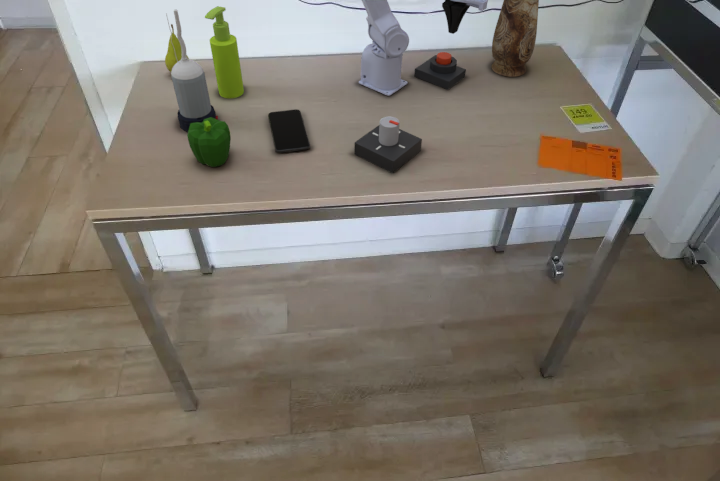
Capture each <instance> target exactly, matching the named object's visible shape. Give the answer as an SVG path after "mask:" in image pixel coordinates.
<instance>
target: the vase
mask: <svg viewBox="0 0 720 481" xmlns="http://www.w3.org/2000/svg"><path fill="white" fill-rule="evenodd" d="M539 1H540V0H503V2H502V5H501V8H500V12H499V15H498V18H497V22H496V24H495V28H494V31H493V37H492V42H491V44H492V45H491V56H492V58H493V60H494V61H493V62H492V64H491V70H492V71H493V72H494V73H496V74H497V75H500V76H504V77H512V78H515V77H520V76H522V75H525V74H526V73H527V66H526V64H527V63H528V62H529V61H530V60H531V58H532V56H533V53H534V50H535V46H536V41H537V34H538V17H539V5H540V4H539V3H540V2H539Z"/></svg>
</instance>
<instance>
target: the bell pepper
mask: <svg viewBox="0 0 720 481" xmlns="http://www.w3.org/2000/svg"><path fill="white" fill-rule="evenodd" d="M186 136H187V141H188V144H189V148H190V150H191V152H192V154H193V156H194V157H195V159H196V161H197V162H199V163H200V164H202V165H207V166H208V167H211V168H217V167H221V166H222V165H225V163H226V161H227V160H228V158H229V156H230V149H231V139H232V138H231V137H232V136H231V131H230V127H229V125H228V123H227V122H226V121H225V120H219V119H218V120H217V119H214V118H212V117H209V118H207V119H204V120H203V122H202V123H201V122H196V123H190V127H189V130H188V132H187V134H186Z"/></svg>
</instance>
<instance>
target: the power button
mask: <svg viewBox="0 0 720 481" xmlns="http://www.w3.org/2000/svg"><path fill="white" fill-rule="evenodd" d="M436 55H437V59H436V62H437V63H438V64H442V65H448V64H450V63H451V58H452V57H453V56H452V54H451V53H450V52H446V51H441V52H438V53H437V54H436Z"/></svg>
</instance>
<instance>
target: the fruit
mask: <svg viewBox="0 0 720 481" xmlns="http://www.w3.org/2000/svg"><path fill="white" fill-rule="evenodd" d="M170 28H171V32H172V43H171V35H170V36H169V40H168V46H167V52H166V55H165V58H164V63H165V67H166V69H167V71H168V72H170V73H171V71H172V68H173V66H174V65H175V64H176V63H177V62H178V61H180V60H181V58H182V49H181V45H180V42H179V40H178V38H177V34H175V32H174V30H175V29H174V24H173V23H170ZM172 44H173V45H172ZM173 46H174V48H173ZM174 49H175V51H174ZM175 53H176V56H175ZM176 57H177V59H176ZM186 57H187V58H188V59H190V58H189V56H188V54H186ZM177 60H178V61H177Z"/></svg>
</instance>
